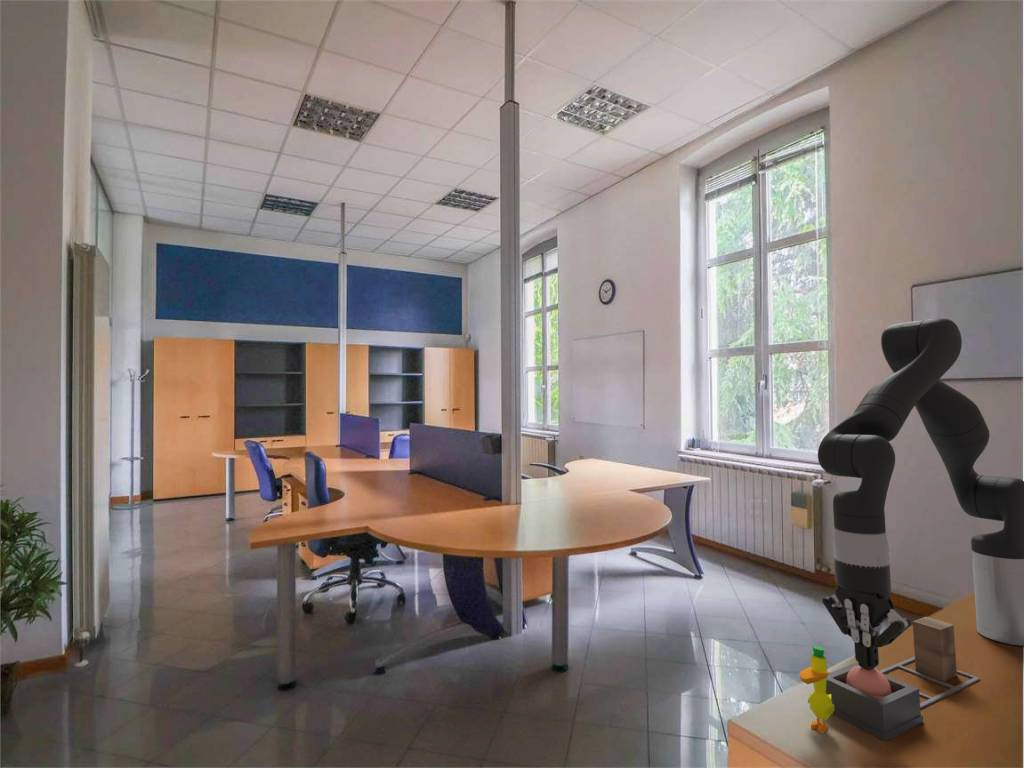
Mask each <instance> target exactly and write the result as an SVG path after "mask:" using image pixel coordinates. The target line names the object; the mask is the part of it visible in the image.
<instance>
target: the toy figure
mask: <svg viewBox="0 0 1024 768" xmlns="http://www.w3.org/2000/svg"><path fill="white" fill-rule="evenodd" d="M812 650H813V651H811V652H810V666H809V667H807V668H804V669H803V670H801V671H800V672H799V676H798V677H799V679H800V680H801V681H802V683H804V684H806V685H810V684H813V688H814V689H813V690H814V691H812V692H811V693H810V694H809V695H808V696H809V697H808V700H807V704H809V709H810V710H811V712H812V714H813V715H814V716H815V717H816V720H812V722H811V725H810V727H811V729H813V730H817V732H818V733H819V734H820V733H821V734H823V733H826V732H827V731H828V730H829V727H828V726H827V722H826V720H828V719H829V718H830V716H831V715H833V714H832V713H833V712H834V705H833V704H832V700H831V694H829V695H827V694H826V683H827V676H828V674H829V673H830V671H828V667H827V666H828V665H827V663H828V661H827V658H828V657H827V655H826V654H825V648H823V647H821V646H818V645H817V646H813V647H812ZM820 720H821V721H822V722H821V721H820Z"/></svg>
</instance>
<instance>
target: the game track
mask: <svg viewBox="0 0 1024 768" xmlns="http://www.w3.org/2000/svg"><path fill="white" fill-rule="evenodd" d="M913 662H915V656H912V657H910V658H908V659H905V660H903V661H901V662H897V663H895V664H893V665H891V666H888V667H886V668H883V669H880V670H879V671H880V672H881V673H882V674H886V672H887V673H889V672H891V671H894V670H896V669H901V670H903V671H906V672H908V673H911V674H913V675H916V676H918V677H921V678H924V679H926V680H928V681H930V682H934V683H936V684H939V685H940V686H941V685H942V686H943V687H947V688H948V689H947V690H945V691H943V692H941V693H939V694H937V695H935V696H931V695H928V694H925V693H923V692H921V691H919V696H920V697H922V698H924V699H926V700H924V701H921V702H920V710H922V709H923V708H925V707H928V706H929V705H931V704H934V703H936V702H938V701H940V700H942V699H944V698H945V697H948V696H950V695H952V694H954V693H956V692H958V691H961V690H962V689H964V688H966V687H968V686H971V685H973V684H975V683H976V682H979V681H980V680H981V678H980V677H977V676H975V675H972V674H969V673H966V672H965V671H961V670H958V669H957V674H958V675H962V676H964V677H966V678H969V679H967V680H966V681H964V682H962V683H959V684H957V685H955V686H954V685H952V684H949V683H946V682H945V681H944V682H943V681H941V680H938V679H936V678H933V677H930V676H928V675H925V674H923V673H920V672H918V671H916V670H913V669H910V668H908V667H905V666H906V665H908V664H910V663H913Z"/></svg>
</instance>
